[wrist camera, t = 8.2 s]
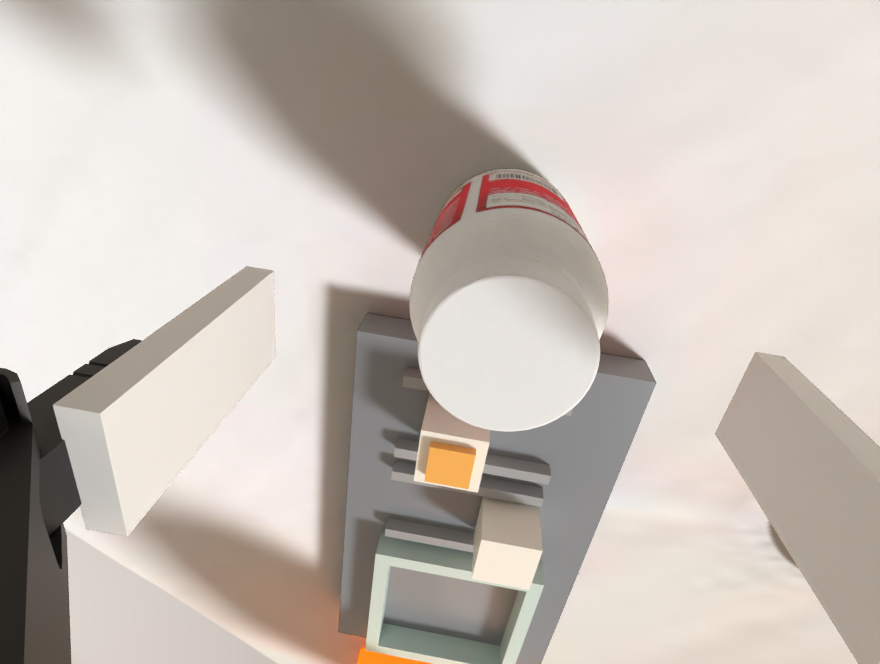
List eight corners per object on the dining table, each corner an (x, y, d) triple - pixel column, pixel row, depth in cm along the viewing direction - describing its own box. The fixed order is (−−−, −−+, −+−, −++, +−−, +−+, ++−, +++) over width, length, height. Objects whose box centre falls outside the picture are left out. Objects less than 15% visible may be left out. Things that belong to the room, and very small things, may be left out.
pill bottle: (465, 314, 24) (440, 474, 15) (415, 197, 22) (346, 294, 12) (590, 274, 23) (657, 423, 13) (551, 142, 20) (597, 203, 11)
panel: (367, 312, 25) (348, 346, 22) (645, 360, 24) (666, 401, 21) (346, 604, 36) (331, 654, 33) (536, 641, 36) (539, 695, 33)
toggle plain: (483, 493, 27) (481, 539, 24) (538, 503, 27) (542, 551, 24) (474, 531, 28) (471, 578, 25) (526, 541, 28) (529, 589, 25)
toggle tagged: (429, 390, 24) (419, 436, 21) (491, 401, 24) (489, 448, 21) (422, 438, 25) (412, 487, 22) (480, 449, 25) (477, 499, 22)
